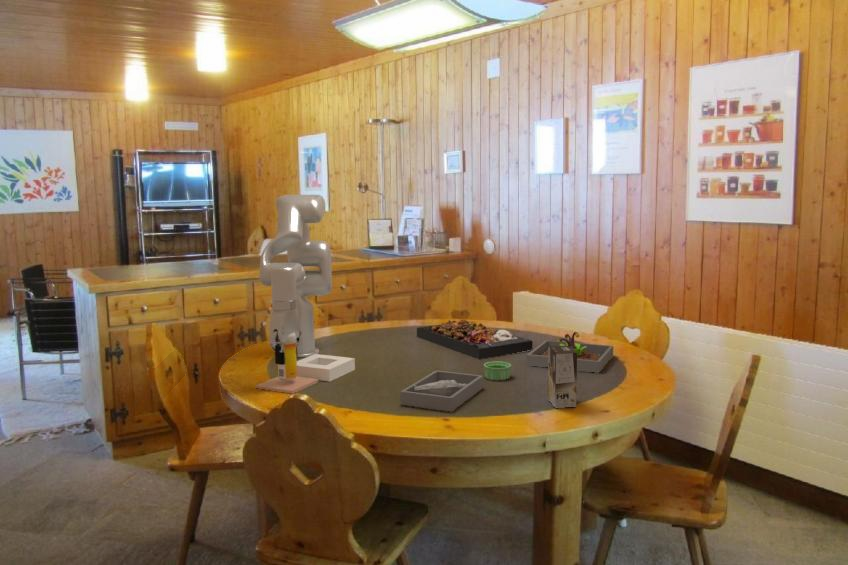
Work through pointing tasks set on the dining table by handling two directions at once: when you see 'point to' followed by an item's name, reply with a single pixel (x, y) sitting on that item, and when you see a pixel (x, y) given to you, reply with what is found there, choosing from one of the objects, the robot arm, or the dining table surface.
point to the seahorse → (440, 388)
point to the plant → (577, 348)
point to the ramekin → (497, 370)
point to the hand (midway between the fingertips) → (286, 361)
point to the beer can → (288, 359)
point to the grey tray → (440, 401)
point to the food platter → (474, 339)
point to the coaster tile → (287, 384)
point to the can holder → (324, 367)
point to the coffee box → (562, 376)
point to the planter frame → (582, 365)
